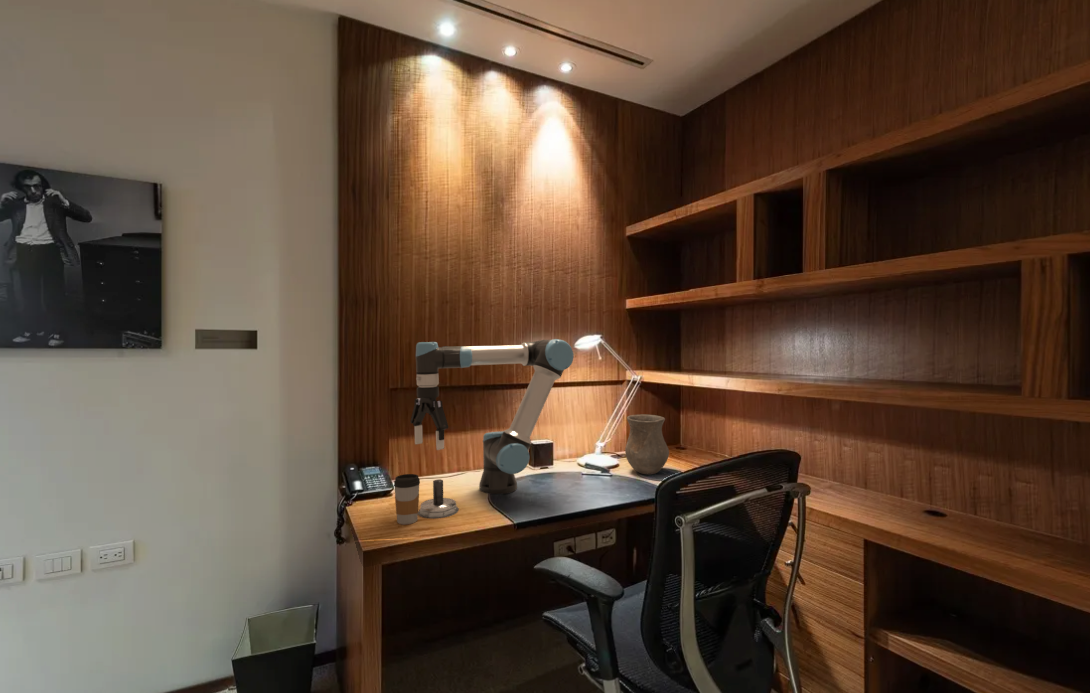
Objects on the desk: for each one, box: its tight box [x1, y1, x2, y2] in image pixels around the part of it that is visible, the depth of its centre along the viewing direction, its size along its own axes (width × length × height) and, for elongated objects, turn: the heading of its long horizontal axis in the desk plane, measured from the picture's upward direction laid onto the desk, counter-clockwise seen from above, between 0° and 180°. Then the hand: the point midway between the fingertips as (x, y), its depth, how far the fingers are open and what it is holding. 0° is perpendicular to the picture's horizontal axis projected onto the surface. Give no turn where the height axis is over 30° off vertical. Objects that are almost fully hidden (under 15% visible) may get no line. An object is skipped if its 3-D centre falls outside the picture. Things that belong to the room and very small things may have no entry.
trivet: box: [418, 505, 460, 520], centre depth 161 cm, size 14×14×1 cm
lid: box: [419, 479, 457, 519], centre depth 161 cm, size 12×12×10 cm
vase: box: [624, 414, 670, 475], centre depth 208 cm, size 20×19×25 cm
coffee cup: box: [393, 473, 421, 525], centre depth 153 cm, size 8×8×15 cm
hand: (429, 446), depth 162 cm, fingers open, 13 cm apart
